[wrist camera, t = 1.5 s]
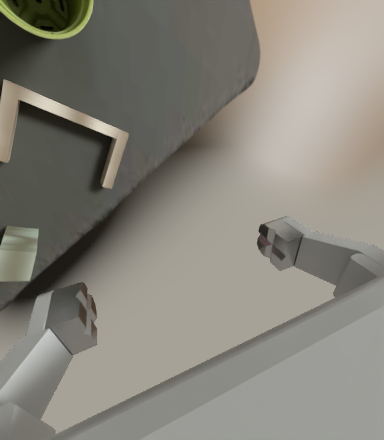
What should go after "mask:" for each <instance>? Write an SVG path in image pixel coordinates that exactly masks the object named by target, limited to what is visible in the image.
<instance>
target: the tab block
mask: <svg viewBox="0 0 384 440" xmlns="http://www.w3.org/2000/svg"><path fill="white" fill-rule="evenodd" d="M37 242H38V229H31V228H22V227H13V226H7V227H6V230H5V233H4V236H3V239H2V242H1V245H0V281H30V278H31V274H32V270H33V266H34V261H35V257H36V253H37Z"/></svg>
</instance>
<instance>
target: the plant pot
mask: <svg viewBox="0 0 384 440" xmlns="http://www.w3.org/2000/svg"><path fill="white" fill-rule="evenodd" d="M16 1H17V3H18V5H19V6H18V7H17V6H16V5H15V4H14V3H13V0H0V11H1V12H2V13H3V14H4V15H5V16H6V17H7V18H8V19H10V20H11V21H12V22H13V23H15V24H16V25H18V26H19V27H21V28H22V29H24V30H26V31H28V32H30V33H32V34H34V35H37V36H39V37H43V38H47V39H55V40H59V39H66V38H69V37H72V36H74V35H76V34H77V33H79V32H80V31H81V30H82V29H83V28H84V27H85V25H86V24H87V22H88V20H89V18H90V16H91V13H92V9H93V1H94V0H62V2H63V5H64V11H61V7H60V2H59V0H41V3H38V2H37V1H36V0H16ZM40 26H46V27H51V26H52V27H53V30H43V29H42V28H41V27H40Z"/></svg>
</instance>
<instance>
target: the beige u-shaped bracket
mask: <svg viewBox="0 0 384 440" xmlns="http://www.w3.org/2000/svg"><path fill="white" fill-rule="evenodd" d="M20 100H21V101H24V102H26V103H29V104H31V105H34V106H36V107H38V108H41V109H43V110H46V111H48V112H51V113H53V114H56V115H58V116H61V117H63V118H66V119H68V120H71V121H73V122H76V123H78V124H81V125H83V126H86V127H88V128H90V129H93V130H95V131H98V132H100V133H103V134H105V135H108V136H110V137H113V139H112V143H111V146H110V149H109V153H108V156H107V160H106V163H105V166H104V170H103V173H102V176H101V180H100V183H101V185H102V187H106V188H110V189H112V186H113V183H114V180H115V177H116V173H117V170H118V167H119V164H120V161H121V158H122V154H123V151H124V148H125V145H126V142H127V139H128V136H129V133H126V132H124V131H122V130H120V129H117V128H115V127H113V126H110V125H108V124H106V123H104V122H101V121H99V120H97V119H94V118H92V117H90V116H88V115H85V114H83V113H81V112H78V111H76V110H74V109H72V108H69V107H67V106H65V105H62V104H60V103H58V102H55V101H53V100H51V99H49V98H46V97H44V96H42V95H39V94H37V93H35V92H33V91H30V90H28V89H26V88H23V87H21V86H19V85H17V84H14V83H12V82H10V81H7V80H5V79H4V81H3V88H2V94H1V101H0V161H2V162H6V163H7V162H8V161H9V159H10V155H11V150H12V144H13V138H14V133H15V127H16V121H17V116H18V110H19V104H20Z"/></svg>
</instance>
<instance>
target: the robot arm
mask: <svg viewBox="0 0 384 440" xmlns="http://www.w3.org/2000/svg"><path fill="white" fill-rule="evenodd" d="M259 233H260V236H259V237H258V240H257V245H258V248H259V250H260V252H261V253H262V254H263V255H264V256H265V257H268V258H270V262H271V263H272V264H273V265H274V266H275V267H276V268H277V269H278V270H279V271H281V270H284V269H287V268H290V267H292V266H294V267H296V268H298V269H300V270H303V271H305V272H307V273H309V274H312V275H314V276H316V277H318V278H320V279H323V280H325V281H327V282H329V283H331V284H334V285H336V288H335V290H334V292H333V294H334V296H335V297H336V298H334V299H332V300H330V301H328V302H326V303H324V304H322V305H320V306H317V307H316V308H314V309H311V310H310V311H307V312H305V313H303V314H301V315H299V316H297V317H295V318H293V319H291V320H289V321H287V322H285V323H283V324H281V325H279V326H277V327H274V328H272V329H271V330H268V331H266V332H264V333H262V334H260V335H258V336H256V337H254V338H252V339H250V340H248V341H246V342H244V343H242V344H240V345H238V346H236V347H234V348H231V349H229V350H227V351H226V352H223V353H221V354H219V355H217V356H215V357H213V358H211V359H209V360H207V361H205V362H203V363H201V364H199V365H197V366H195V367H193V368H190V369H189V370H187V371H184V372H182V373H180V374H178V375H176V376H174V377H172V378H170V379H168V380H166V381H164V382H162V383H160V384H158V385H156V386H154V387H152V388H150V389H148V390H146V391H143V392H141V393H140V394H137V395H135V396H133V397H131V398H129V399H127V400H125V401H123V402H121V403H119V404H117V405H115V406H113V407H111V408H109V409H107V410H105V411H103V412H101V413H98V414H97V415H95V416H92V417H90V418H88V419H86V420H84V421H82V422H80V423H78V424H76V425H74V426H72V427H70V428H68V429H66V430H64V431H62V432H60V433H58V434H56V435H55V429H54V428H53V427H51V426H49V425H48V424H46V423H44V422H43V421H41V420H40V419H41V418H42V416H43V414H44V412H45V410H46V407H47V406H48V404H49V402H50V400H51V398H52V396H53V394H54V392H55V390H56V389H57V386H58V385H59V383H60V381H61V379H62V377H63V375H64V373H65V371H66V369H67V367H68V365H69V363H70V361H71V359H72V358H73V356H72V355H75V354H77V353H79V352H81V351H84V350H86V349H88V348H91V347H93V346H96V345H97V328H96V326H95V324H94V321H95V320H96V318H97V313H96V306H95V303H94V300H93V297H92V295H89V294H87V286H86V285H85V283H84V282H81V283H77V284H74V285H70V286H67V287H64V288H60V289H57V290H54V291H51V292H48V293H45V294H41V295H39V296H38V297H37V299H36V301H35V304H34V308H33V311H32V315H31V319H30V322H29V326H28V329H27V333H26V337H24V338H21V339H20V340H19V341H18V342H17V343H16V344H15V345H14V347H13V348H12V349H11V350H10V351H9V352H8V353H7V355H6V356H5V357H4V358H3V359H2V360H1V362H0V440H384V251H383V250H382V249H380V248H378V247H376V246H374V245H370V244H366V243H362V242H358V241H354V240H349V239H345V238H341V237H337V236H333V235H329V234H324V233H320V232H312V231H311V230H309V229H308V228H306V227H305V226H303V225H302V224H300V223H299V222H297V221H296V220H294V219H292V218H291V217H288V216H285V217H282V218H279V219H277V220H273V221H271V222H267V223H264V224H261V225H260V227H259Z"/></svg>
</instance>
